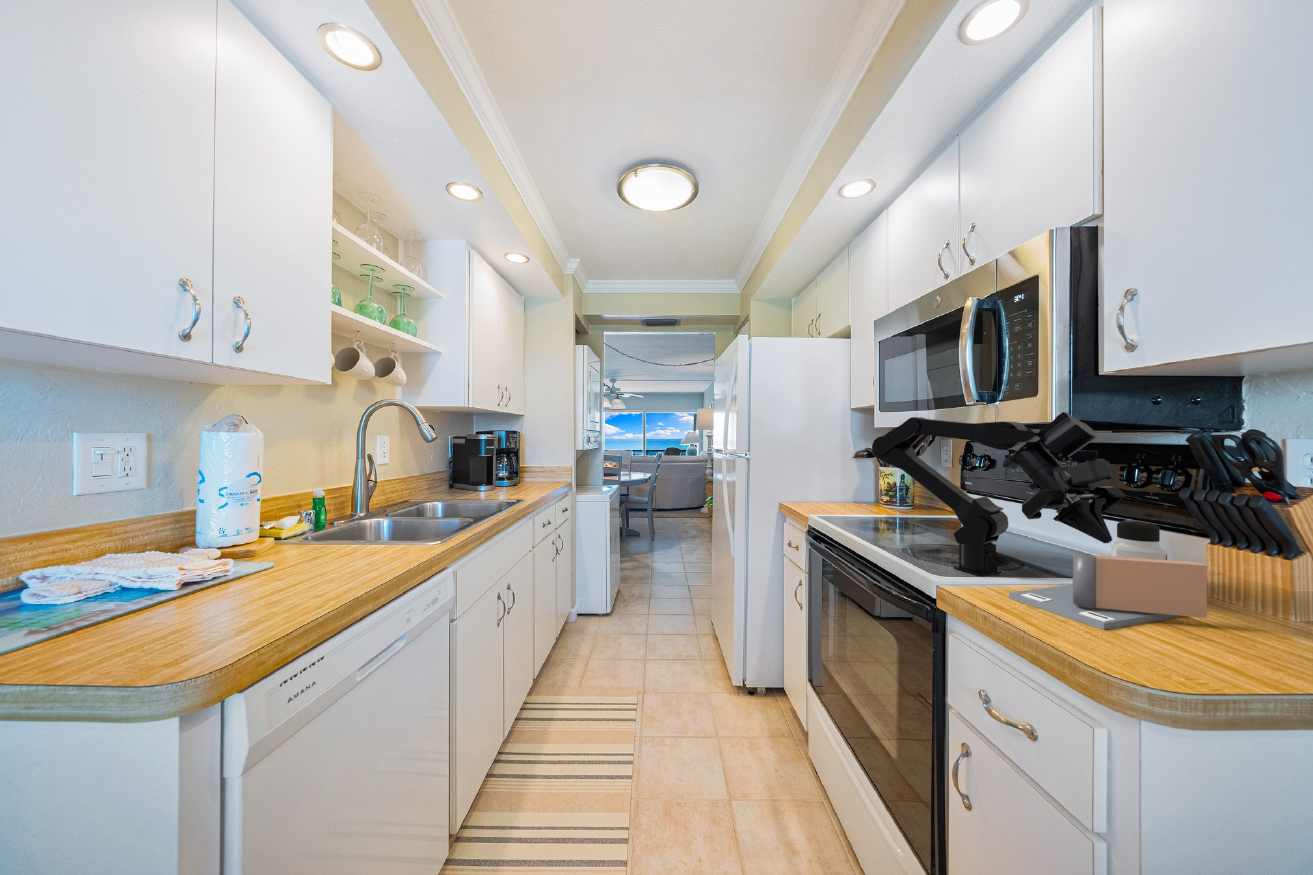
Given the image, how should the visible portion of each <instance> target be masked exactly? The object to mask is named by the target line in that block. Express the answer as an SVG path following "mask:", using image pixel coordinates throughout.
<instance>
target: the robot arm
mask: <svg viewBox="0 0 1313 875" xmlns="http://www.w3.org/2000/svg"><path fill="white" fill-rule="evenodd" d="M923 435H925V436H930V437H931V436H932V437H940V438H941V437H942V438H950V439H957V440H966V441H970V442H975V443H977V444H980V445H982V446H985V447H988V448H993V449H996V450H1000V451H1004V450H1005V451H1006V450H1015V449H1016V450H1017V451H1015V452H1014V453H1013V454H1005V455H1004V460H1003V461H1002V467H1003V468H1004V469H1005V468H1006V469H1009V470H1016V469H1017V468H1019V469H1020V470H1021V472H1022V473H1023V474H1024V475H1025V476H1026V478H1028V480H1029V481H1030V482H1031V483H1030V484H1029V485H1028V487H1029V488H1030V490H1032V491H1035V492H1034V493H1033V494H1032V495H1031V496H1030V497H1028V498H1027V499H1026V500H1025V501H1024V502H1022V504H1021V512H1022V513H1023V515H1024V516H1025V517H1026V518H1027V519H1028V520H1037V519H1040V518H1042V512H1041V511H1042V510H1049V509H1050V510H1051V509H1055V510H1056V511H1055V512H1056V513H1057V514H1056V515H1055V516H1054V517H1053V519H1052V520H1053V521H1055V522H1059V523H1061V524H1064V525H1066V526H1069V527H1070V528H1073V529H1075V530H1077V531H1079V532H1081V533H1083V534H1085V535H1087V536H1089V537H1091V538H1093V539H1095V540H1097V541H1099V542H1100V543H1101V542H1102V543H1103V544H1110V543H1112V542H1113V537H1112V535H1111V533H1110V531H1109V529H1108V526H1107V523H1106V521H1105V519H1104V517H1103V516H1104V515H1103V513H1105V512H1106V511H1107V510H1109V509H1110V508H1111V507H1113V506H1115V505H1116V504H1117V503H1118V502H1120V501H1121V500H1122V499H1124V498H1126V494H1125V493H1124V492H1123V491H1122V490H1121V489H1120V488H1119V487H1118V486H1110V485H1109V486H1108V485H1107V486H1096V487H1094V485H1092V484H1093V483H1097V482H1100V481H1105V480H1112V479H1113V478H1114V475H1113V474H1114V473H1115V468H1116V466H1115V465H1114V464H1111V463H1110V461H1109V460H1106V459H1104V458H1095V460H1089V461H1085V462H1082V463H1079V464H1076V465H1073V466H1063V465H1062V464H1061V463H1060V462H1059V461H1058V460H1057V459H1056V458H1055V457H1054V456H1056V457H1061V456H1062V455H1063V456H1064V457H1068V458H1070V457H1071V456H1073V455H1074V454H1075V453H1077V452H1079V451H1080V450H1081V449H1083V448H1084V447H1086V446H1087V445H1088V444H1090V443H1092V442H1093V441H1094V440H1096V439H1097V438H1098V434H1097V433H1096V432H1095V431H1094V430H1093V428H1092V427H1090V426H1089V425H1088V424H1087V423H1085V422H1082V421H1081V420H1079V419H1078V418H1076V417H1074V416H1072V415H1071V414H1070V413H1069V412H1067V411H1062V412H1061V413H1059V414H1058V415H1056V417H1055V418H1054V419H1053V420H1052V421H1050V422H1049V423H1048V424H1047V425H1046V426H1044V427H1043V428H1041V429H1039V428H1027V427H1026V426H1025V425H1024V424H1023V423H1021V422H1018V421H989V422H976V423H974V422H965V421H964V422H962V421H953V420H944V419H943V420H941V419H933V418H932V419H931V418H926V417H922V416H921V417H919V416H918V417H917V416H913V417H909V418H907V419H906V420H905V421H904V422H902V424H899V425H898V426H897V427H895V428H892V430H890V431H888V432H887V433H885V434H884V435H881V436H877V437H876V438H875V439H874V440H873V442H872V444H871V449H872V451H871V453H872V455H873V456H874V457H875V458H877V459H878V460H879V461H881V462H883V463H885V464H887V465H889V466H892V467H894V468H897V469H900V470H902V471H903V472H904V473H906V475H908V476H909V477H911V478H912V479H913V480H915V481H916V482H917V484H918V483H919V484H920V485H921V486H922V487H923V488H925V489H926V490H927V491H928V492H930V493H931V494H932V495H933V496H935V497H936V498H937V499H938V500H940V501H941V502H942V503H943V504H944V505H946V506H947V507H948V508H950V509H951V510H952V511H953V512H954V514H955V516H956V517H957V519H958V521H959V523H960V524H961V525H962V526H961V527H960V528H958V529H957V530H956V531H955V532H954V533H953V536H954V538H955V542H956V543H957V544H958V565H957V564H956V565H953V566H952V567H953V569H956V570H959V571H963V572H965V573H969V574H972V575H975V576H990V575H995V574H998V575H999V574H1002V573H1003V570H1000V569H998V568H999V567H998V564H999V563H998V562H999V561H998V559H999V556H998V555H999V552H998V551H997V544H995V543H994V542H998V540H999V537H1000V536H1001V535H1003V534H1004V533H1006V531H1007V530H1008V529H1009V528H1008V527H1009V518H1008V515H1007V514H1006V513H1005V512H1004V511H1002V510H1004V507H1001V506H998V505H997V504H995V502H993V501H992V500H991V499H990V498H988V496H982V497H977V498H974V497H972V496H970V495H969V494H968V493H966V492H964V491H963V490H962V489H960V488H959V487H958V486H956V485H955V484H954V483H952V481H950V480H949V479H947V477H945V476H943V475H942V474H941V473H940V472H938V471H937V470H936V469H934V468H933V467H931V466H930V465H929V464H927V463H926V462H925V461H923V459H921V458H919V456H918V455H917V453H916V451H915V450H914V448H913V445H915V444H916V442H918V440H919V439H920V438H921V436H923ZM1033 442H1034V443H1033ZM1027 443H1032V444H1030V445H1028V446H1025V445H1026V444H1027ZM1093 487H1094V488H1093ZM1092 488H1093V489H1092ZM1091 489H1092V490H1091ZM1090 490H1091V491H1090ZM1086 491H1090V492H1088V493H1087V494H1086Z"/></svg>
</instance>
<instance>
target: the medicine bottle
mask: <svg viewBox="0 0 1313 875" xmlns="http://www.w3.org/2000/svg"><path fill="white" fill-rule="evenodd" d="M1160 529H1161V528H1160V526H1159V525H1157V524H1155V523H1152V522H1147V521H1140V520H1122V521H1119V522H1118V523H1116V541H1111V542H1110V545H1111V546H1110V548H1111V549H1110V554H1111V555H1110V557H1125V558H1140V559H1155V560H1168V554H1167V552H1166V551H1164V549H1163V548H1162V547H1161V546H1160V543H1161V541H1160V540H1161V539H1160V536H1161V532H1160Z"/></svg>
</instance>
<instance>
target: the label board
mask: <svg viewBox="0 0 1313 875" xmlns="http://www.w3.org/2000/svg"><path fill="white" fill-rule="evenodd" d="M1008 599H1009V600H1011V601H1016V602H1019V603H1021V604H1025V605H1027V606H1031V607H1034V608H1036V609H1039V610H1042V611H1046V612H1049V613H1052V614H1055V615H1058V616H1061V617H1064V618H1067V619H1069V620H1073V621H1076V622H1078V623H1082V624H1085V625H1088V626H1091V627H1093V628H1096V629H1100V630H1103V631H1105V630H1112V629H1117V628H1121V627H1127V626H1133V625H1135V626H1136V625H1139V624H1140V623H1141V624H1145V623H1152V622H1157V621H1164V620H1169V619H1174V618H1175V619H1176V618H1180V617H1182V616H1179V615H1169V614H1158V613H1148V612H1137V611H1127V610H1116V609H1106V608H1087V607H1081V606H1078V605H1075V604H1073V583H1071V584H1064V585H1057V586H1049V587H1042V588H1041V587H1040V588H1035V589H1034V588H1033V589H1028V590H1027V589H1025V590H1020V591H1011V592H1010V591H1009V592H1008ZM1163 619H1164V620H1163Z"/></svg>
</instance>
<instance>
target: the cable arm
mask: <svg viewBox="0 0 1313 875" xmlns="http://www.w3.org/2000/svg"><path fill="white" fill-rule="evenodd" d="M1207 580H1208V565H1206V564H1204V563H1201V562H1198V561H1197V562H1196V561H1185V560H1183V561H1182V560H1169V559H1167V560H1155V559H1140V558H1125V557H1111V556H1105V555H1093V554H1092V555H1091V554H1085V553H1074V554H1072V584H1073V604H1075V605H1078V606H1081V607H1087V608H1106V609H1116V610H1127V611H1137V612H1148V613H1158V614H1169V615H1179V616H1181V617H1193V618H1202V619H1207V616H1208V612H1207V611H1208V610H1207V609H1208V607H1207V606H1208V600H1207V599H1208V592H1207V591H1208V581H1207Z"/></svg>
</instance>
